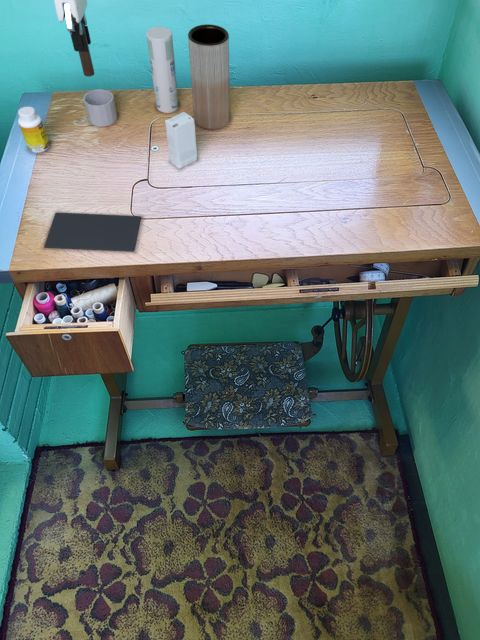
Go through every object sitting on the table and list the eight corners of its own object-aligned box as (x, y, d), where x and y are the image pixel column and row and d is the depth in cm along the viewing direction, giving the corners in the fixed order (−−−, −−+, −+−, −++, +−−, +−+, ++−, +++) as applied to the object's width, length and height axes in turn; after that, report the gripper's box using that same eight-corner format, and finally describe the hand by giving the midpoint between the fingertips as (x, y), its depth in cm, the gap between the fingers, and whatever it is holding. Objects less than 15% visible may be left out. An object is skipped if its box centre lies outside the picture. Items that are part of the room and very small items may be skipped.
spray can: (177, 113, 147) (170, 39, 131) (154, 112, 147) (144, 38, 131) (180, 100, 151) (173, 26, 134) (157, 99, 151) (147, 25, 134)
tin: (86, 125, 143) (80, 105, 138) (91, 109, 147) (86, 88, 142) (114, 127, 143) (110, 106, 138) (119, 110, 147) (115, 90, 142)
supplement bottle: (50, 153, 136) (37, 116, 127) (27, 154, 135) (13, 118, 126) (50, 139, 139) (38, 103, 130) (28, 141, 138) (15, 105, 129)
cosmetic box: (187, 152, 138) (183, 109, 128) (198, 160, 137) (195, 118, 126) (169, 161, 136) (163, 119, 126) (179, 170, 134) (175, 128, 124)
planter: (237, 121, 147) (237, 36, 128) (209, 134, 143) (205, 49, 124) (214, 104, 151) (211, 19, 132) (186, 117, 147) (179, 32, 128)
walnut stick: (82, 76, 130) (70, 24, 120) (84, 70, 131) (72, 19, 121) (93, 77, 130) (81, 25, 120) (95, 71, 131) (84, 19, 121)
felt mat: (44, 248, 118) (43, 246, 117) (56, 214, 124) (55, 212, 123) (133, 251, 118) (133, 250, 118) (140, 217, 124) (140, 216, 124)
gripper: (52, -60, 114) (74, 29, 129) (34, -28, 105) (59, 64, 120) (87, -58, 114) (104, 31, 130) (72, -26, 105) (92, 66, 121)
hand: (82, 46), depth 125 cm, fingers closed on walnut stick, 2 cm apart
